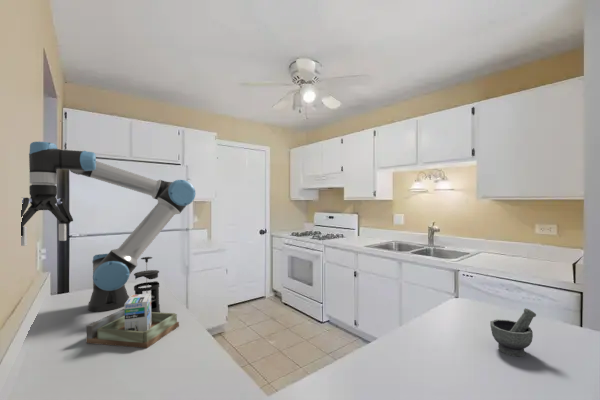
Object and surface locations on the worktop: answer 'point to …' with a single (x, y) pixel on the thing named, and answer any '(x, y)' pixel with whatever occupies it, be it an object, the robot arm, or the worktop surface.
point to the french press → (154, 287)
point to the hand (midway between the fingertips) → (43, 243)
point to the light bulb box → (138, 312)
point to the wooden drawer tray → (115, 334)
